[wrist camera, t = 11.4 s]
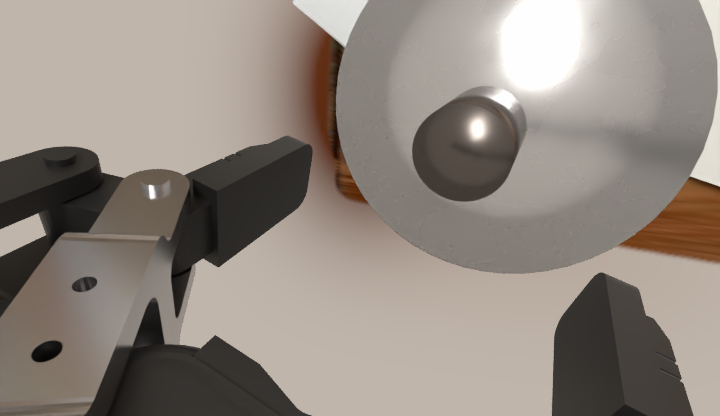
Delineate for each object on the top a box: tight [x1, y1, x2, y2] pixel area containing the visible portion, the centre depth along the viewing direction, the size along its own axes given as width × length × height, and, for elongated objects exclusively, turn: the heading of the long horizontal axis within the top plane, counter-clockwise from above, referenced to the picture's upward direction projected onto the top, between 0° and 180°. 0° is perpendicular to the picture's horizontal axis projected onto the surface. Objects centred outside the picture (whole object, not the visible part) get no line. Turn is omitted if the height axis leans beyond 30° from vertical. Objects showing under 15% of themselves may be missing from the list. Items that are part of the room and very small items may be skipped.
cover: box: [336, 0, 718, 273], centre depth 24 cm, size 17×17×24 cm
